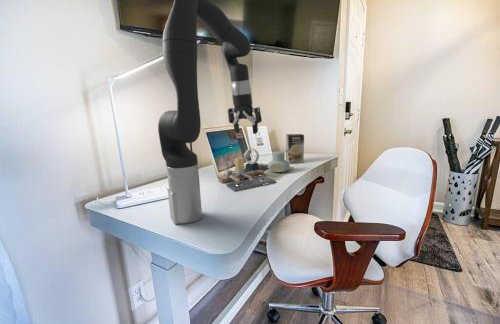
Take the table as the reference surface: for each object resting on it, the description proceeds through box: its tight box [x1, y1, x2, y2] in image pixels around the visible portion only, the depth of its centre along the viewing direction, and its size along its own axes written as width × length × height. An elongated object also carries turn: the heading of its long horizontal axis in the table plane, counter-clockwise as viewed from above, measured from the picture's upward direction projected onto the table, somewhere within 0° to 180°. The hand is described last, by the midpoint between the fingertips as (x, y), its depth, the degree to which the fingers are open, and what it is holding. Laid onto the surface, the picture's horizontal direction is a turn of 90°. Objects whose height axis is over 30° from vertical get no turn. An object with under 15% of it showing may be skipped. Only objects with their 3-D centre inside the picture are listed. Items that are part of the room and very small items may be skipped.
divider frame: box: [218, 168, 265, 184], centre depth 117 cm, size 22×13×5 cm, turn 119°
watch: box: [243, 148, 260, 171], centre depth 136 cm, size 6×8×11 cm
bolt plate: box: [225, 175, 276, 192], centre depth 112 cm, size 20×8×1 cm, turn 119°
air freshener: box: [267, 150, 291, 173], centre depth 130 cm, size 11×8×10 cm
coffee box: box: [285, 133, 305, 165], centre depth 147 cm, size 9×6×16 cm
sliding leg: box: [234, 156, 253, 181], centre depth 116 cm, size 3×13×8 cm, turn 29°
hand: (246, 133), depth 106 cm, fingers open, 8 cm apart
